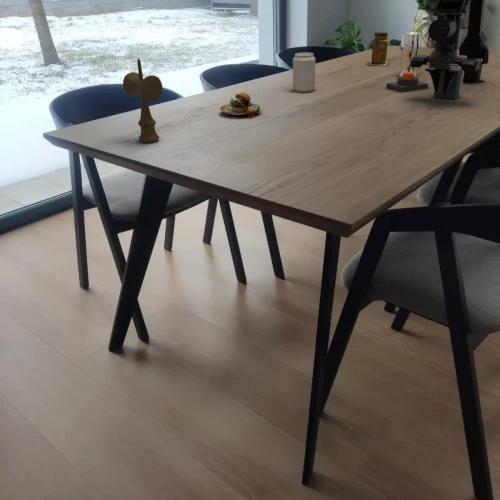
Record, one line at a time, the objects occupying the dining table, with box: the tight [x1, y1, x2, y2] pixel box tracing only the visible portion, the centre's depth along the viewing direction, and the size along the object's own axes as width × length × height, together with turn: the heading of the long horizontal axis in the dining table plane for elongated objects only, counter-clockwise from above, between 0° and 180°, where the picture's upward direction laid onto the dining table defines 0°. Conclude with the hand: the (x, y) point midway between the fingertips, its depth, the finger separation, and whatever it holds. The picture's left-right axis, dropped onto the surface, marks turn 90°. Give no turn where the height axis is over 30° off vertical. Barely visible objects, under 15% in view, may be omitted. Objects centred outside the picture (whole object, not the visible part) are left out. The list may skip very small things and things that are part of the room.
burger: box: [219, 86, 261, 119], centre depth 151 cm, size 12×12×8 cm
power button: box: [402, 72, 414, 79], centre depth 172 cm, size 4×4×2 cm
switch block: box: [385, 76, 429, 93], centre depth 173 cm, size 11×8×4 cm
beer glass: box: [398, 31, 423, 77], centre depth 187 cm, size 7×7×15 cm
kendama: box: [122, 58, 163, 143], centre depth 127 cm, size 6×10×20 cm, turn 43°
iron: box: [433, 54, 467, 100], centre depth 156 cm, size 12×7×11 cm
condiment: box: [368, 31, 389, 66], centre depth 213 cm, size 7×8×12 cm
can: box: [292, 52, 316, 93], centre depth 174 cm, size 8×8×12 cm
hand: (440, 93), depth 155 cm, fingers closed on iron, 2 cm apart
